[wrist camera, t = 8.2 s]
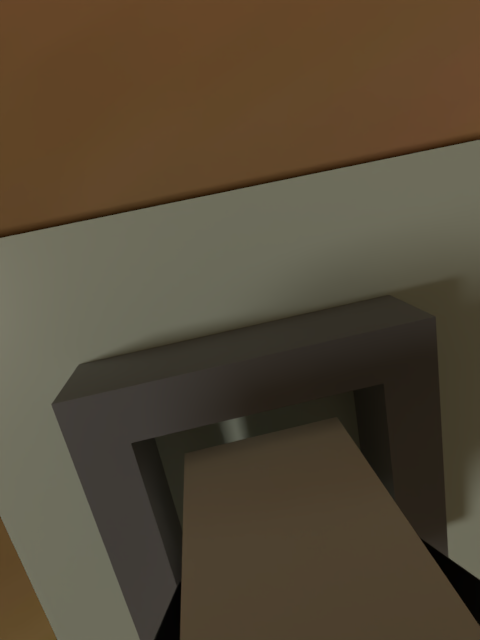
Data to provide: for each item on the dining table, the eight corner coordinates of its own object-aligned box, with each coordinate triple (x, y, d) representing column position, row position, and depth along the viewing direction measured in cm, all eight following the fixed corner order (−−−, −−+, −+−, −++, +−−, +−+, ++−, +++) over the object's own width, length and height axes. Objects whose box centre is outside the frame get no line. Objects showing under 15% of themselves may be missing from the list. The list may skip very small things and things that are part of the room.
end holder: (486, 562, 14) (560, 651, 11) (93, 666, 14) (67, 789, 11) (479, 140, 10) (592, 116, 7) (-87, 256, 9) (-207, 279, 7)
